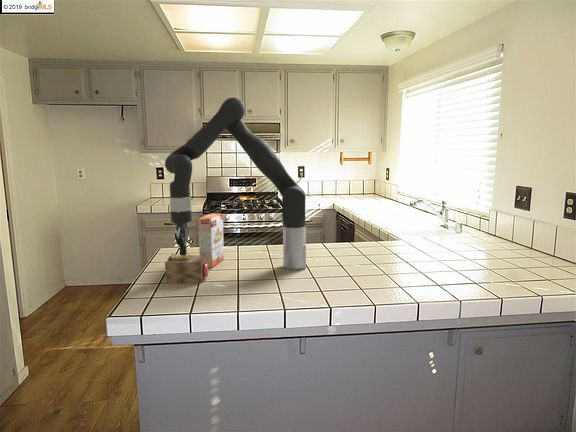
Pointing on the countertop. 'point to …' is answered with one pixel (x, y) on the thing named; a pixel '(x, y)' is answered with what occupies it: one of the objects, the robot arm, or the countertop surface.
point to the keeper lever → (178, 257)
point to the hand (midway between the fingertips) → (183, 254)
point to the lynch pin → (205, 270)
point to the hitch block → (185, 270)
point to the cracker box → (211, 238)
